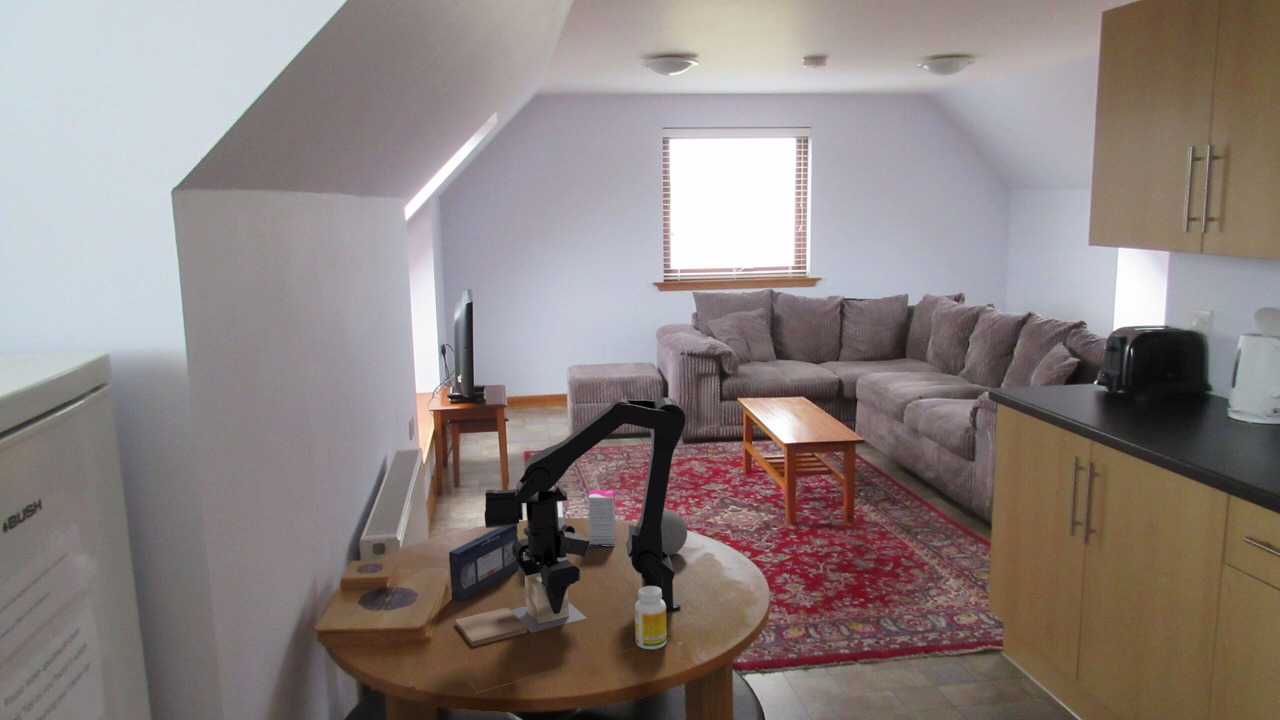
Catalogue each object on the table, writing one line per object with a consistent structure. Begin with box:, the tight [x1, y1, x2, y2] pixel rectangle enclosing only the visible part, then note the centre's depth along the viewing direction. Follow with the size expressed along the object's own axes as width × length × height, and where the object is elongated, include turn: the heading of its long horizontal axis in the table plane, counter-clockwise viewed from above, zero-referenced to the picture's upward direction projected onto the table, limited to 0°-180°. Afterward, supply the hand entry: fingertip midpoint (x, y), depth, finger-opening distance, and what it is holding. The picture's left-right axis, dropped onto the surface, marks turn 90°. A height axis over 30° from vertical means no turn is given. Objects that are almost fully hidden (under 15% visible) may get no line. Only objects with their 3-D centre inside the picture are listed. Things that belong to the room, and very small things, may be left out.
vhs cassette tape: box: [448, 525, 520, 602], centre depth 183 cm, size 18×3×10 cm, turn 148°
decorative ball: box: [661, 508, 688, 557], centre depth 196 cm, size 10×10×10 cm
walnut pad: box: [455, 606, 528, 647], centre depth 164 cm, size 10×10×1 cm
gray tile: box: [510, 601, 587, 634], centre depth 169 cm, size 11×11×1 cm
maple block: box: [524, 573, 569, 624], centre depth 168 cm, size 6×6×7 cm
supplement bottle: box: [634, 586, 668, 650], centre depth 156 cm, size 5×5×10 cm
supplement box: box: [588, 489, 616, 547], centre depth 204 cm, size 6×6×12 cm
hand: (547, 604), depth 169 cm, fingers open, 9 cm apart
